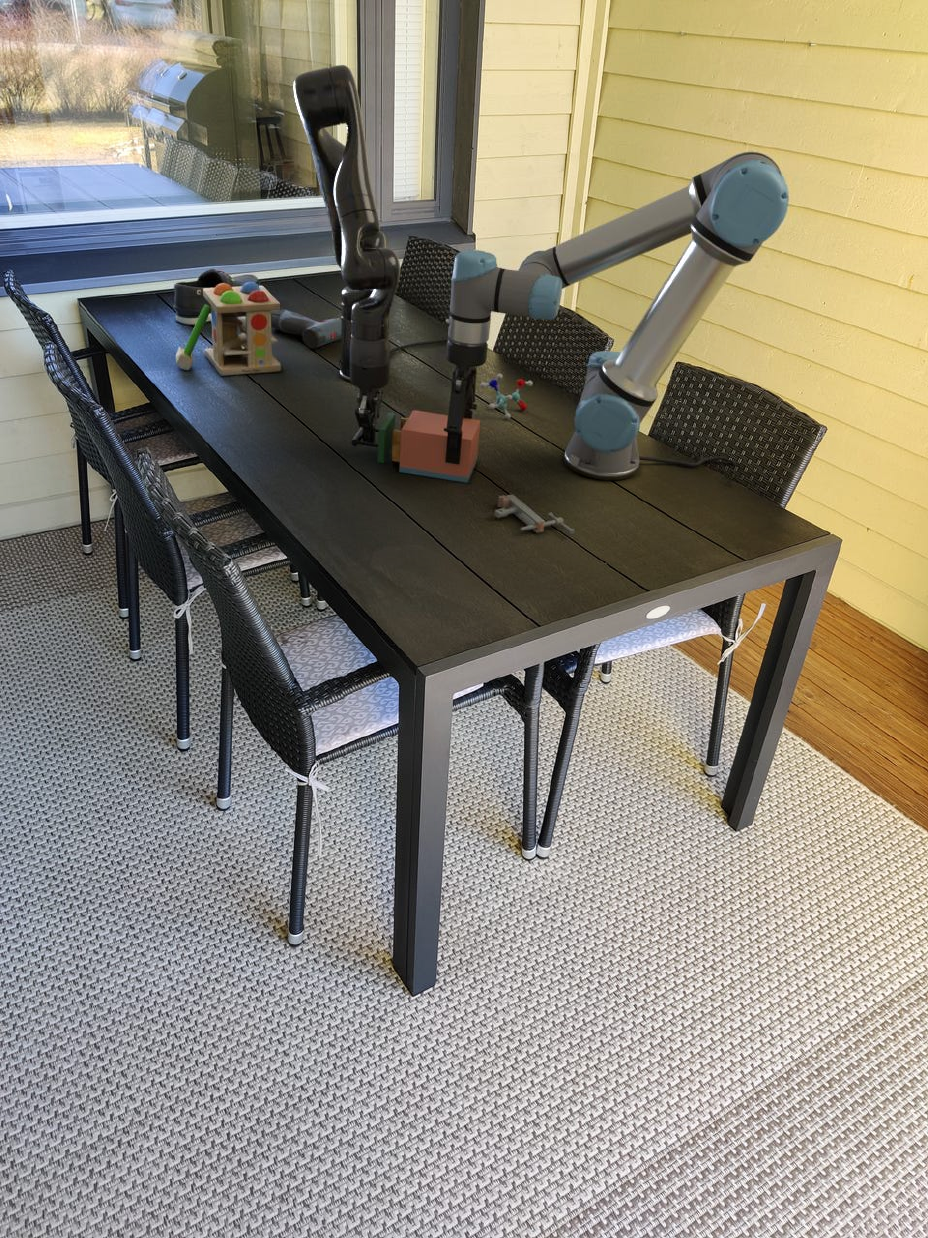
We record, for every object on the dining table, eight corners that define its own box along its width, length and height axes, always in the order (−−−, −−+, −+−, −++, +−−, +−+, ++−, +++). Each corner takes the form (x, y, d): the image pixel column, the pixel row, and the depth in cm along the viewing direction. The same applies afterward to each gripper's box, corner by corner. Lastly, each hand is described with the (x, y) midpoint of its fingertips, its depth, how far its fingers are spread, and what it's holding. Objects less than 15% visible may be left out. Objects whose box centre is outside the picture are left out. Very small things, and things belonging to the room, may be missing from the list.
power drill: (305, 316, 264) (364, 334, 256) (257, 332, 251) (318, 351, 243) (305, 296, 261) (365, 314, 253) (257, 311, 248) (318, 330, 240)
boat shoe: (280, 303, 273) (279, 264, 268) (193, 326, 249) (189, 285, 244) (246, 294, 279) (244, 257, 273) (158, 317, 255) (153, 276, 250)
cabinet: (399, 471, 191) (401, 429, 186) (410, 451, 200) (413, 409, 195) (467, 482, 190) (471, 440, 185) (476, 461, 198) (480, 420, 193)
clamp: (484, 498, 180) (530, 489, 184) (483, 509, 181) (528, 500, 186) (529, 536, 169) (576, 526, 174) (527, 547, 171) (574, 537, 175)
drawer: (350, 457, 192) (350, 424, 189) (362, 440, 200) (363, 407, 196) (439, 472, 191) (441, 438, 187) (447, 453, 198) (450, 421, 194)
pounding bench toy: (183, 379, 220) (176, 299, 210) (169, 357, 231) (162, 280, 221) (282, 371, 230) (280, 294, 220) (264, 350, 240) (262, 276, 230)
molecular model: (528, 411, 213) (513, 366, 211) (488, 425, 216) (474, 381, 215) (541, 408, 223) (527, 366, 222) (503, 422, 227) (489, 380, 225)
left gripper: (359, 345, 191) (359, 428, 201) (341, 367, 180) (341, 454, 190) (397, 349, 190) (394, 433, 200) (380, 372, 179) (379, 459, 189)
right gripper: (459, 319, 189) (450, 426, 202) (435, 356, 171) (426, 472, 183) (497, 324, 189) (485, 432, 201) (477, 363, 170) (466, 478, 183)
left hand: (368, 443), depth 195 cm, fingers closed
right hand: (457, 451), depth 192 cm, fingers closed on cabinet, 10 cm apart
